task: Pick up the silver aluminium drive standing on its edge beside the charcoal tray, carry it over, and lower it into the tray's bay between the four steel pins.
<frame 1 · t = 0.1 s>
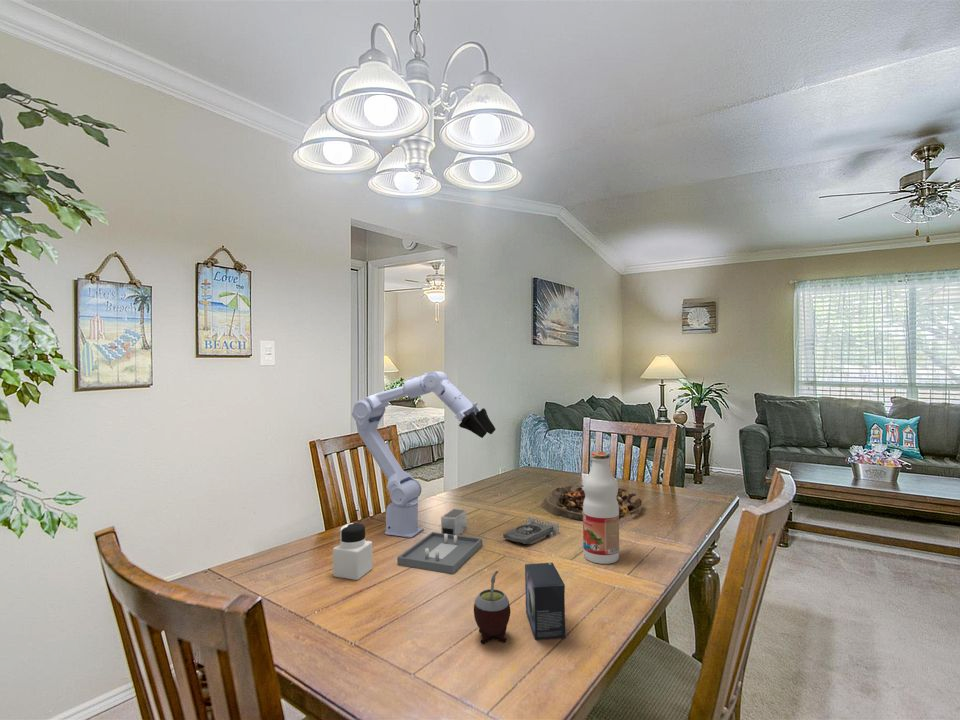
hand: (489, 433, 144), 32 cm above the table, tool tilted 50°, fingers open, 7 cm apart
tray: (441, 554, 136), on the table
graphics card: (527, 538, 150), on the table
fruit juice: (601, 558, 133), on the table
drive: (454, 533, 154), on the table
mate gourd: (493, 638, 96), on the table
medicine bottle: (353, 573, 125), on the table
food dish: (590, 509, 178), on the table
small box: (544, 625, 100), on the table
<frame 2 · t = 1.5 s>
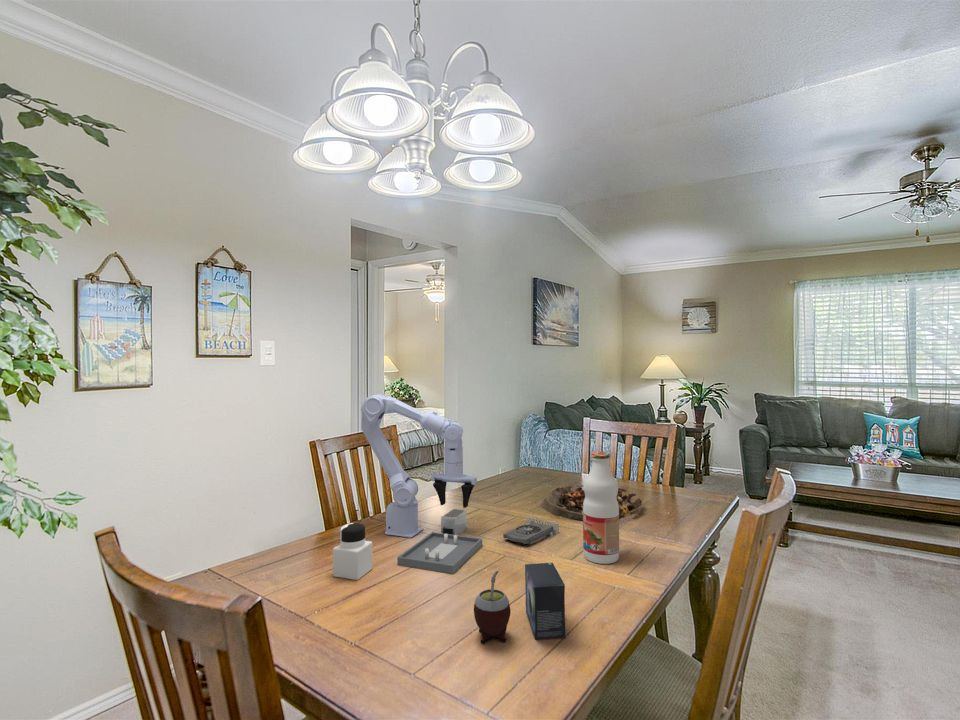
hand: (454, 505, 154), 8 cm above the table, tool pointing down, fingers open, 7 cm apart
nothing on the table moved.
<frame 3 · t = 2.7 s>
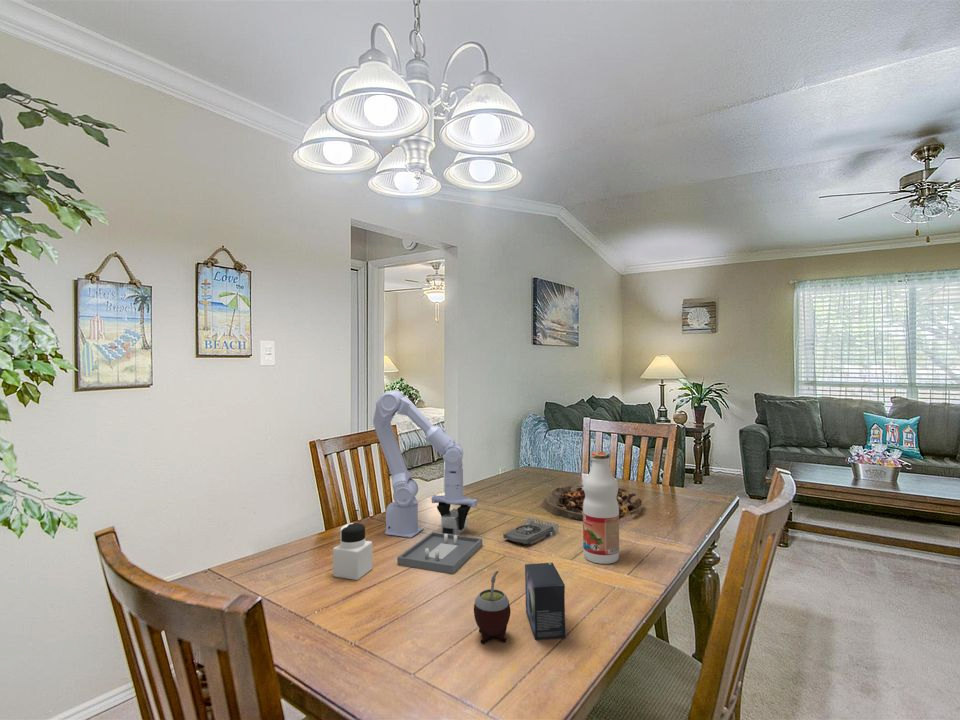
hand: (454, 528, 154), 1 cm above the table, tool pointing down, fingers closed on drive, 4 cm apart
drive: (454, 532, 154), on the table, touching gripper
everything else where it was.
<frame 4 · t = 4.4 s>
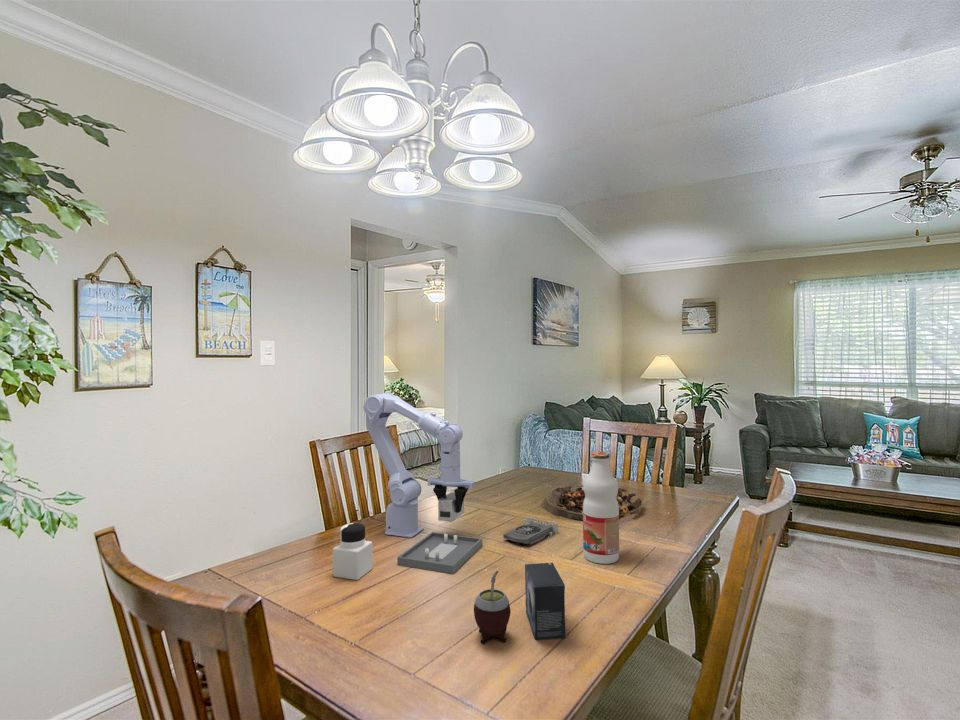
hand: (451, 511, 149), 8 cm above the table, tool pointing down, fingers closed on drive, 4 cm apart
drive: (451, 516, 149), point 6 cm above the table, touching gripper
everything else where it was.
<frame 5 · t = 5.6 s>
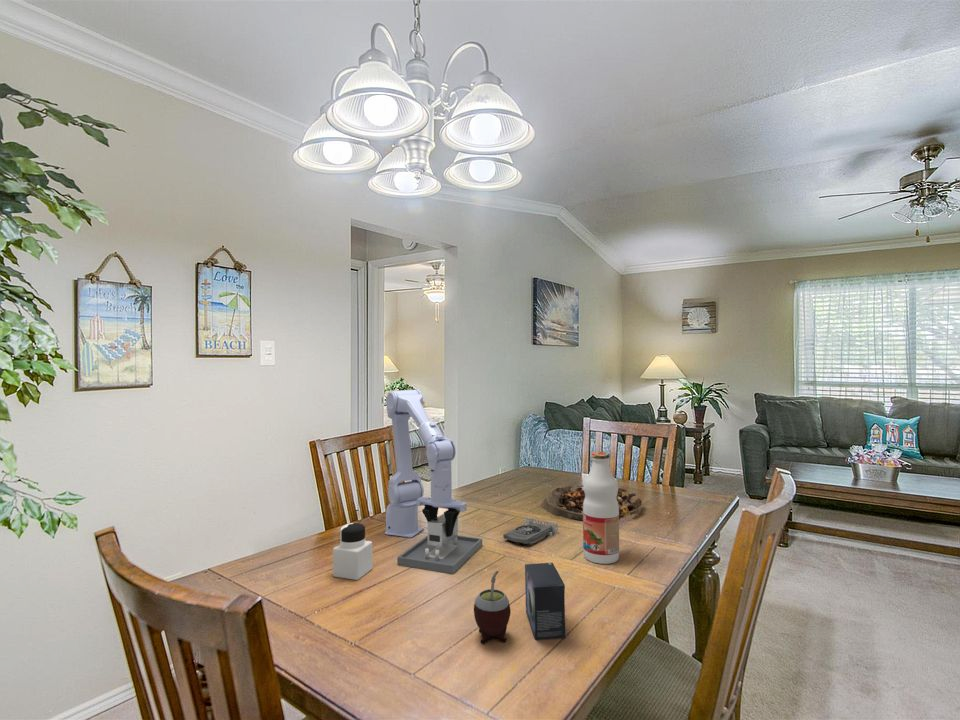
hand: (441, 534, 136), 6 cm above the table, tool pointing down, fingers closed on drive, 4 cm apart
drive: (442, 540, 137), point 4 cm above the table, touching gripper
everything else where it was.
when the fingers open (4 cm above the table, at t = 6.4 s): drive stays where it is, resting on tray.
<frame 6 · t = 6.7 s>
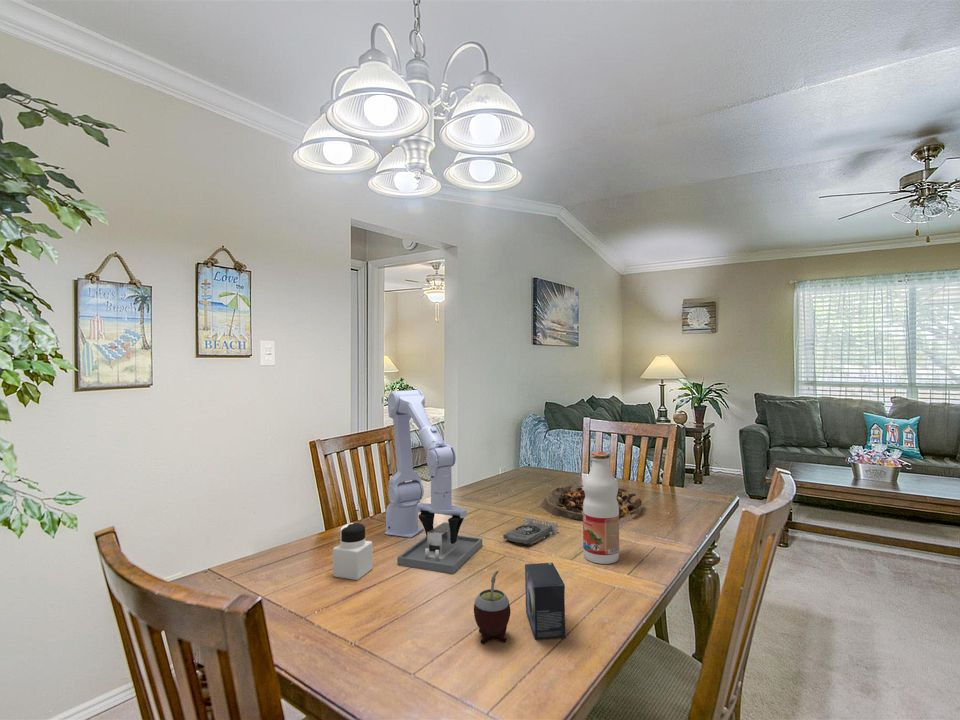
hand: (441, 540, 136), 4 cm above the table, tool pointing down, fingers open, 7 cm apart
drive: (442, 550, 137), point 1 cm above the table, touching tray
everything else where it was.
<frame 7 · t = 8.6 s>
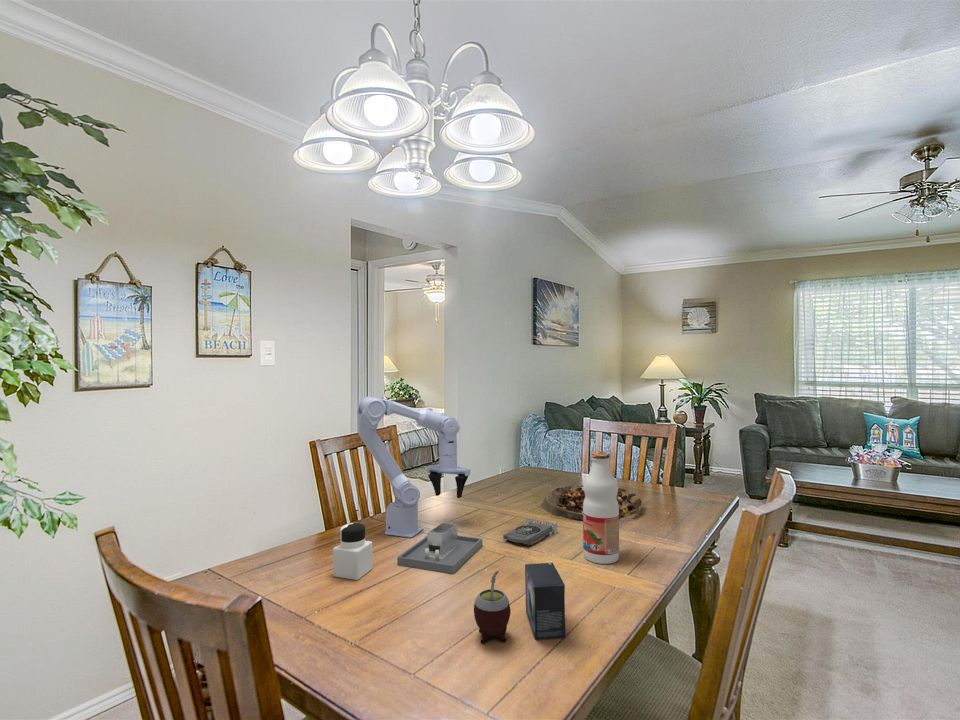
hand: (448, 496, 160), 9 cm above the table, tool pointing down, fingers open, 7 cm apart
nothing on the table moved.
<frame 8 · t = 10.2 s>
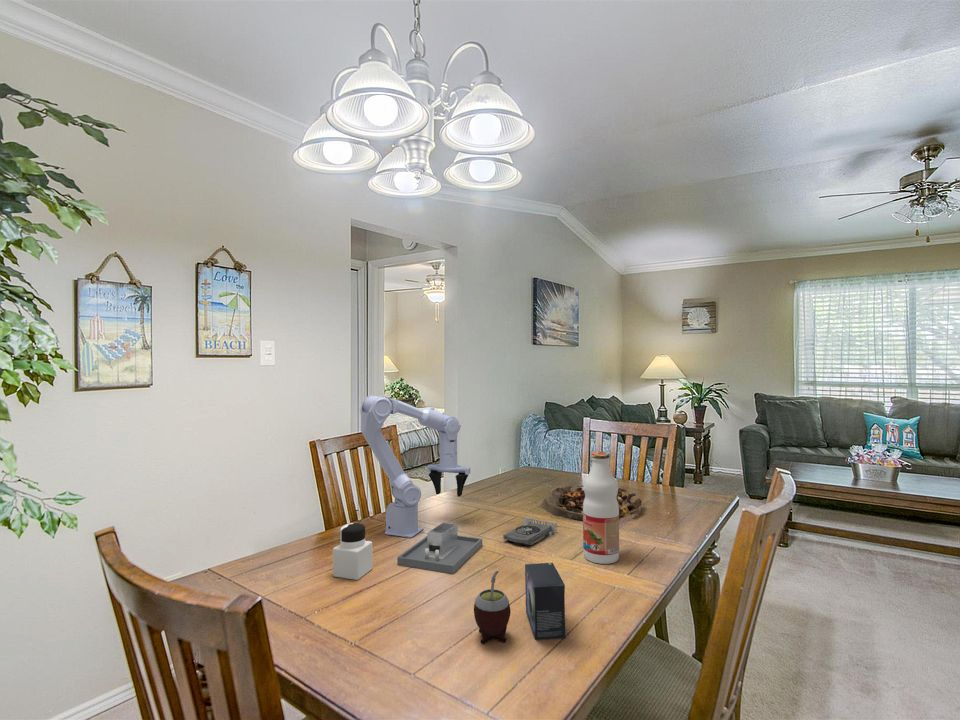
hand: (448, 494, 162), 9 cm above the table, tool pointing down, fingers open, 7 cm apart
nothing on the table moved.
at the end: drive 0.6 cm off-centre on the tray, point 1.1 cm above the tray's base; drive tilted 0°; the gripper is holding nothing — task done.
